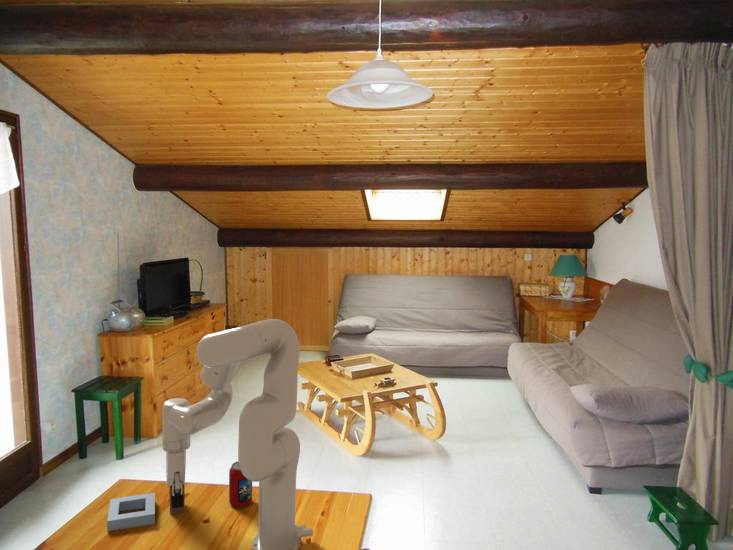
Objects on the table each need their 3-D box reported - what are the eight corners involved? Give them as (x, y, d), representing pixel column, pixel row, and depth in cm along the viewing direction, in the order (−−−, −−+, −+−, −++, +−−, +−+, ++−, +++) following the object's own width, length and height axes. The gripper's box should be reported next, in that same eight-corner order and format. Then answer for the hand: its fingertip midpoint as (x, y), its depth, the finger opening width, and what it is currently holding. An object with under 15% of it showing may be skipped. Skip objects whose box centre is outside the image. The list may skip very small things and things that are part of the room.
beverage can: (246, 510, 160) (246, 471, 159) (225, 507, 161) (225, 468, 160) (255, 498, 167) (256, 461, 165) (235, 495, 168) (235, 458, 167)
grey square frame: (155, 502, 163) (155, 492, 163) (154, 523, 152) (154, 513, 152) (110, 508, 159) (110, 498, 158) (107, 531, 148) (107, 521, 147)
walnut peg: (183, 504, 162) (183, 469, 161) (184, 511, 158) (184, 475, 157) (169, 506, 161) (169, 471, 159) (169, 514, 157) (169, 477, 156)
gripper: (162, 431, 164) (162, 487, 166) (162, 456, 148) (163, 517, 150) (188, 429, 167) (188, 483, 169) (191, 453, 150) (192, 513, 153)
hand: (176, 499), depth 159 cm, fingers open, 7 cm apart
